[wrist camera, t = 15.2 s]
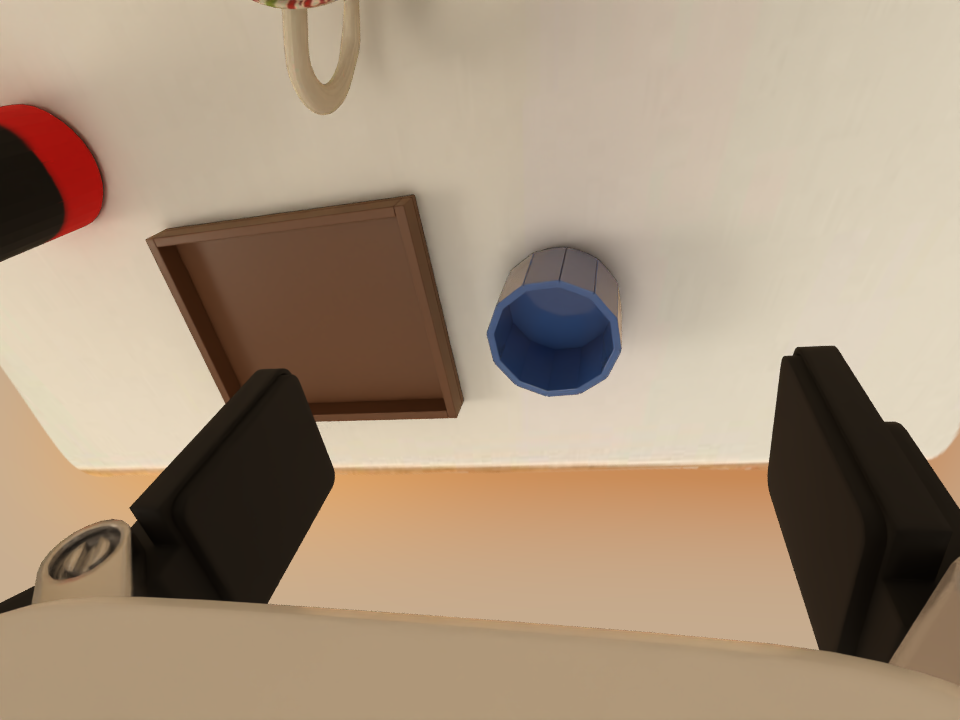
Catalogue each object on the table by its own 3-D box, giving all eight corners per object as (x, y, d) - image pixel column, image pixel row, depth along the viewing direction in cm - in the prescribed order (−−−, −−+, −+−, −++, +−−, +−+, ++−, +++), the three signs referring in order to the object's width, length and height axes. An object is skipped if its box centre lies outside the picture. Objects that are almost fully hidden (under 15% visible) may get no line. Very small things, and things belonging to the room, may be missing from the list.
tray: (249, 407, 44) (234, 423, 42) (166, 228, 37) (144, 239, 35) (464, 400, 39) (457, 418, 38) (414, 194, 32) (403, 205, 31)
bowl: (481, 291, 35) (462, 330, 31) (569, 221, 31) (562, 254, 27) (553, 368, 37) (544, 415, 32) (644, 309, 33) (647, 354, 29)
